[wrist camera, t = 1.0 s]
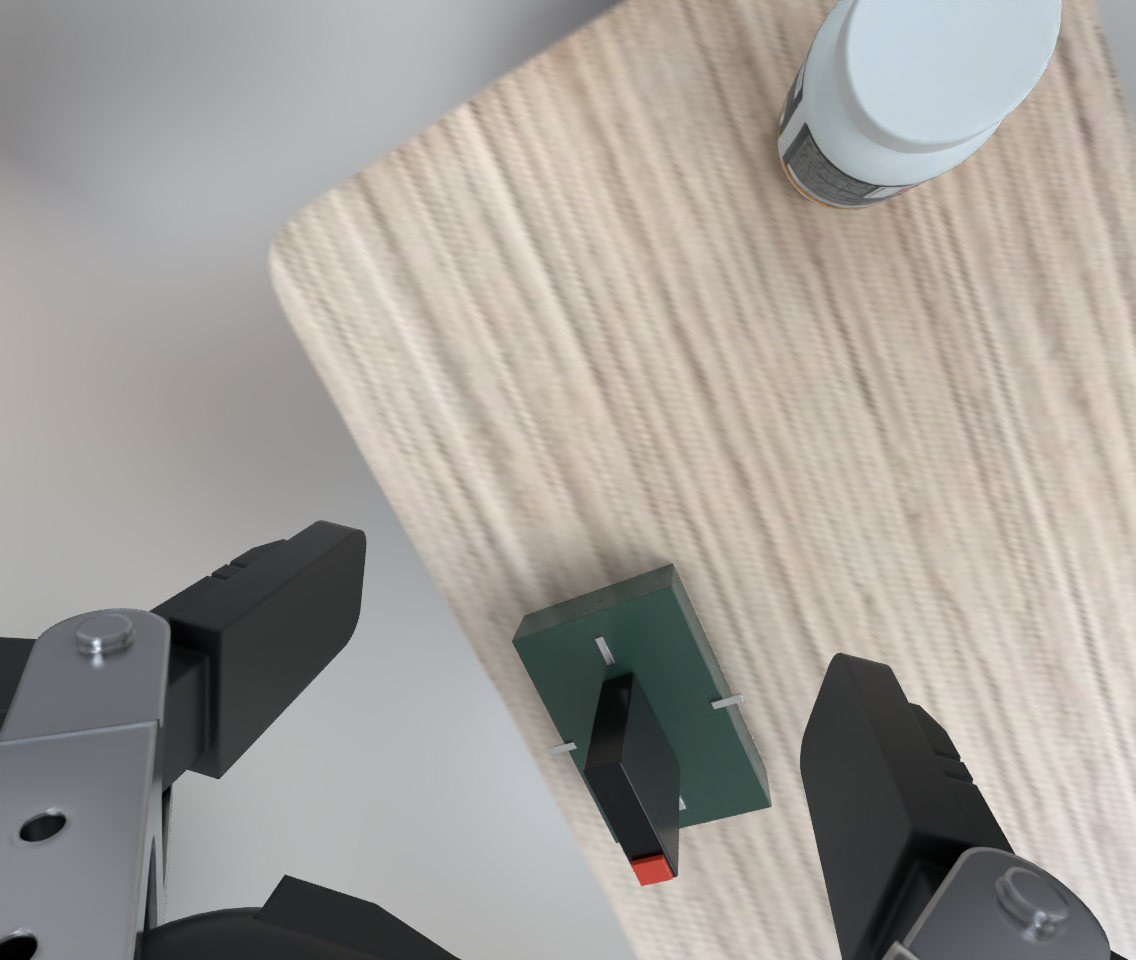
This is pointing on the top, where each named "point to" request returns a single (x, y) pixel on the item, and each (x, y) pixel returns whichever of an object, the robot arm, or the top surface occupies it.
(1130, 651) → the top surface
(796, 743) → the top surface
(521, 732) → the top surface
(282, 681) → the robot arm
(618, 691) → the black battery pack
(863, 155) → the pill bottle
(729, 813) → the base plate
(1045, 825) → the top surface
